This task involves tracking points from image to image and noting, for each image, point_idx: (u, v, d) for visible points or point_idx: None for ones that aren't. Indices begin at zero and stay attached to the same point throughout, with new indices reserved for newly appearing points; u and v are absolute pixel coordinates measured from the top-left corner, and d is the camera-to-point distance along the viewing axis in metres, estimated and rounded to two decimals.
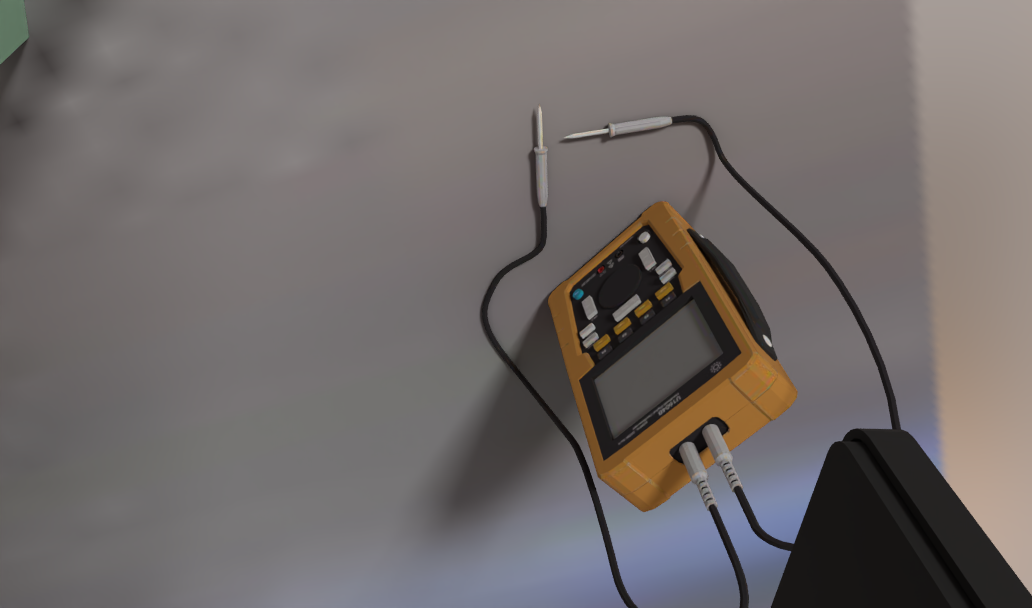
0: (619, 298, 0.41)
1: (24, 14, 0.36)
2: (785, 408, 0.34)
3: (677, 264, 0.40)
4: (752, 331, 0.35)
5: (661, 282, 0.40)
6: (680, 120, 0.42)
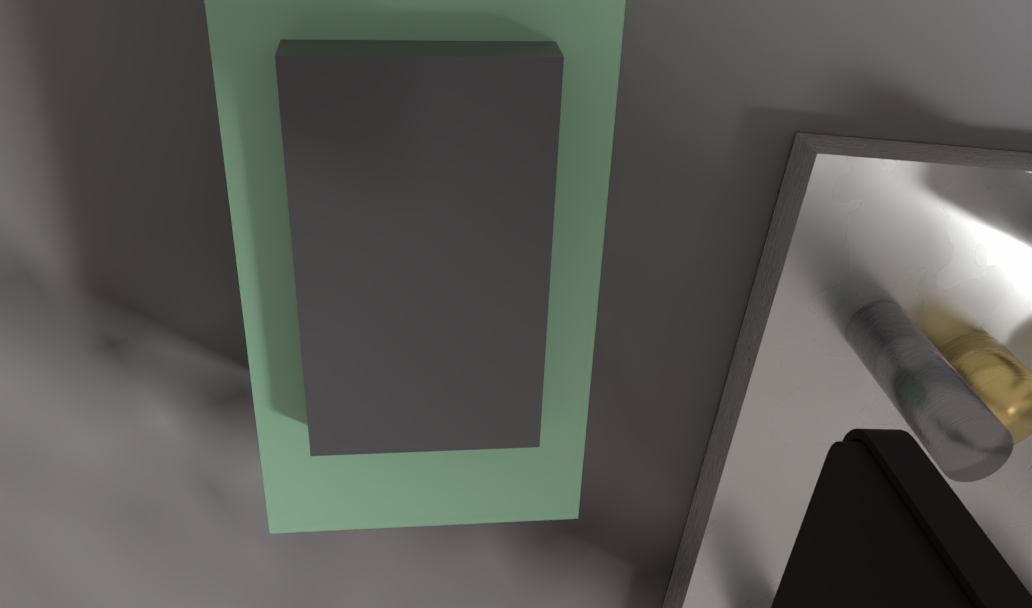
0: None
1: None
2: None
3: None
4: None
5: None
6: None
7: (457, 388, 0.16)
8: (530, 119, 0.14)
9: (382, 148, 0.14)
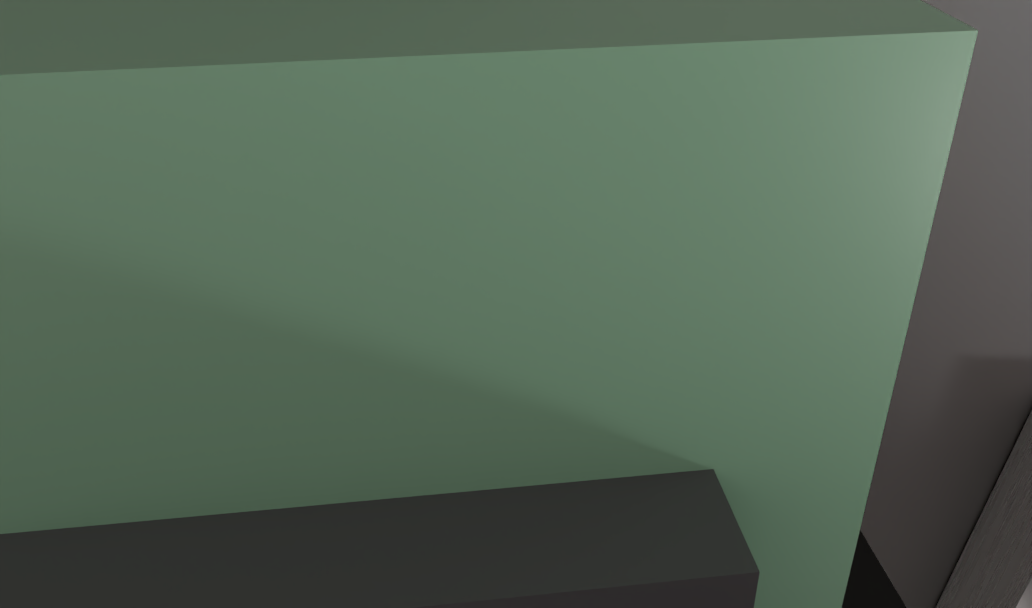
0: None
1: None
2: None
3: None
4: None
5: None
6: None
7: None
8: None
9: None
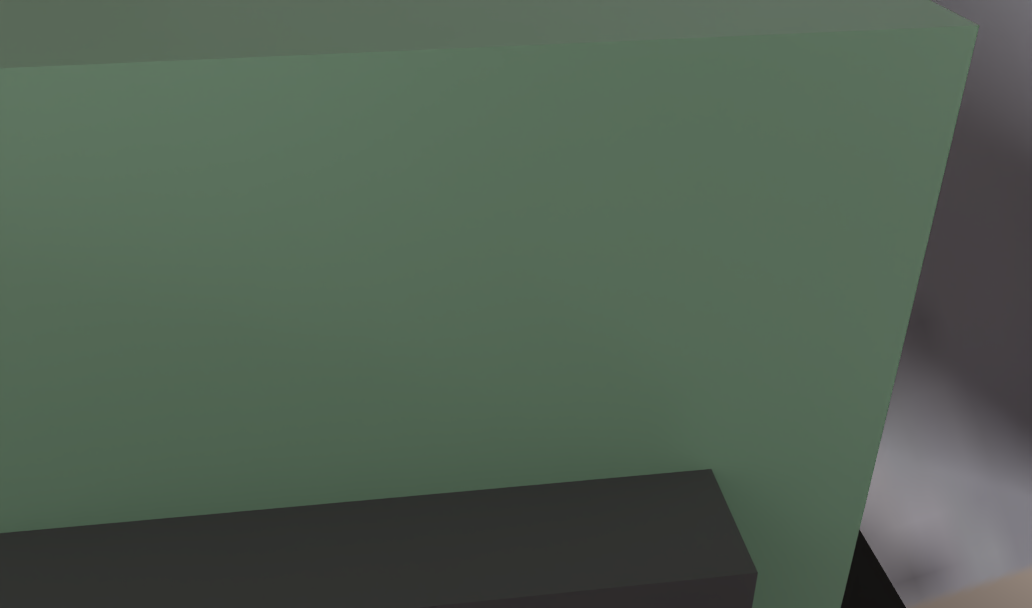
0: None
1: None
2: None
3: None
4: None
5: None
6: None
7: None
8: None
9: None
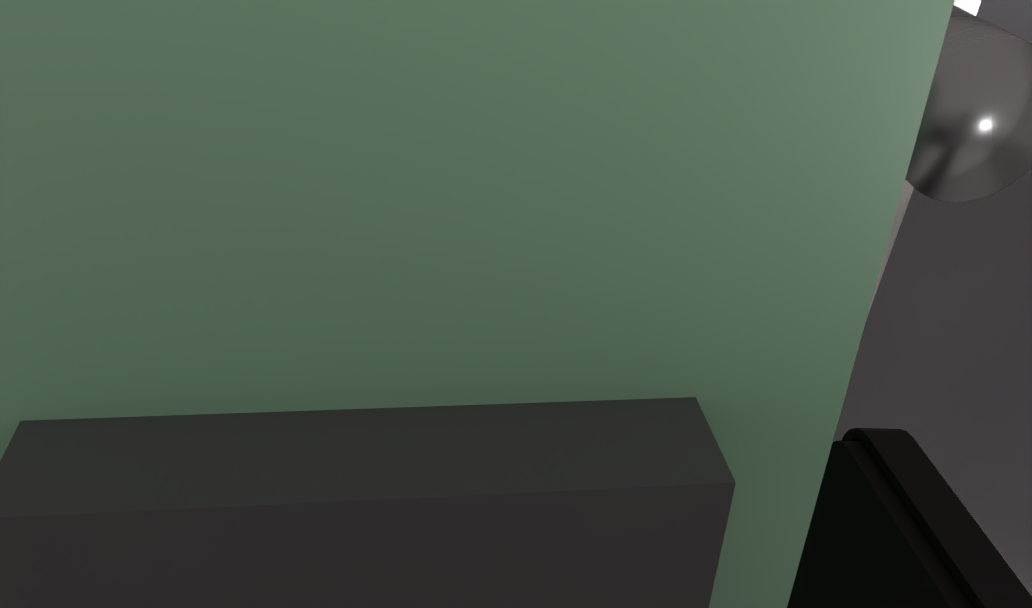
0: None
1: None
2: None
3: None
4: None
5: None
6: None
7: None
8: (641, 602, 0.06)
9: None
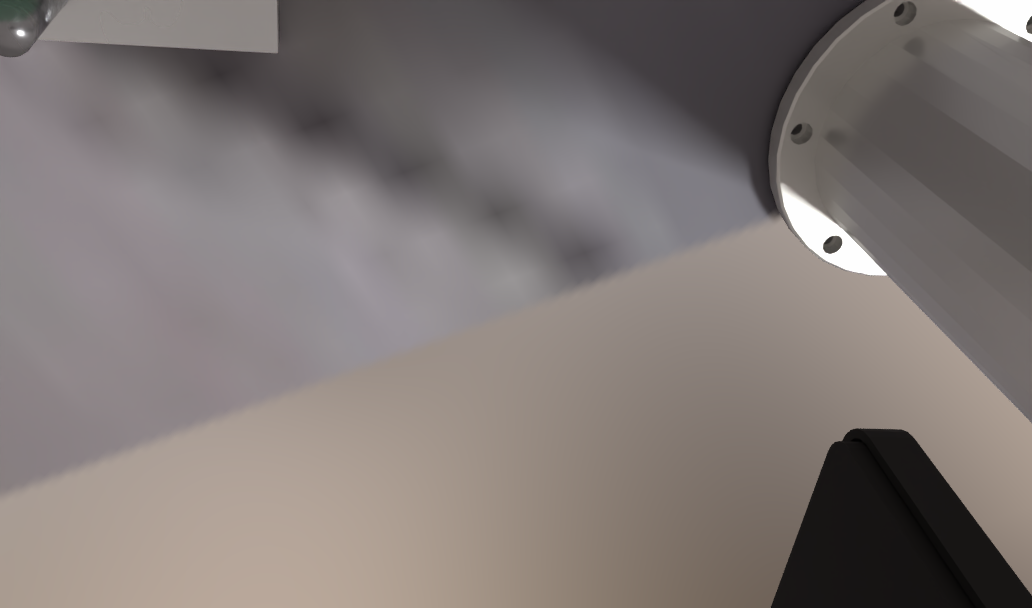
0: None
1: None
2: None
3: None
4: None
5: None
6: None
7: None
8: None
9: None
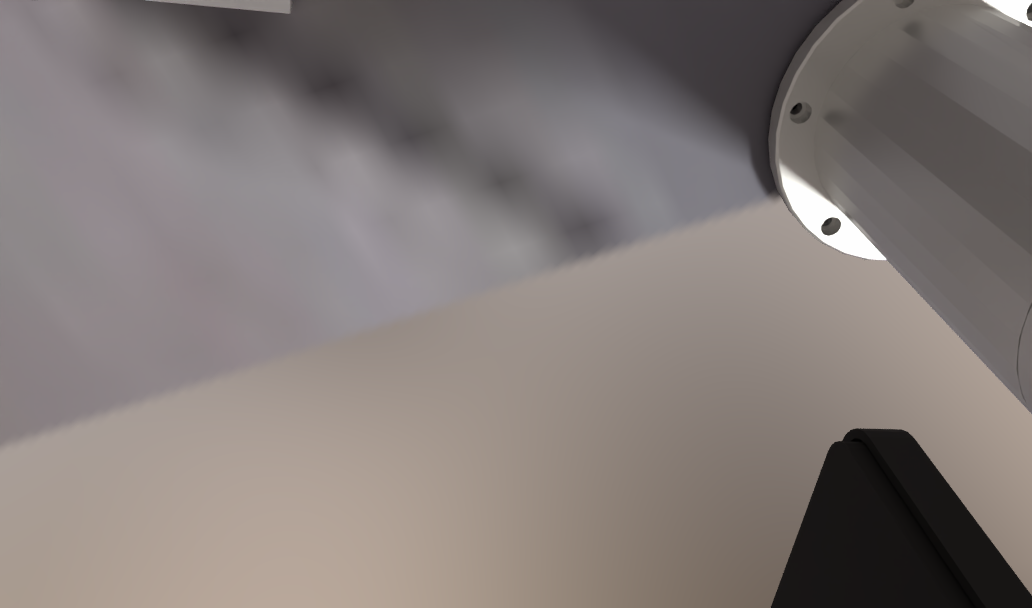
0: None
1: None
2: None
3: None
4: None
5: None
6: None
7: None
8: None
9: None
